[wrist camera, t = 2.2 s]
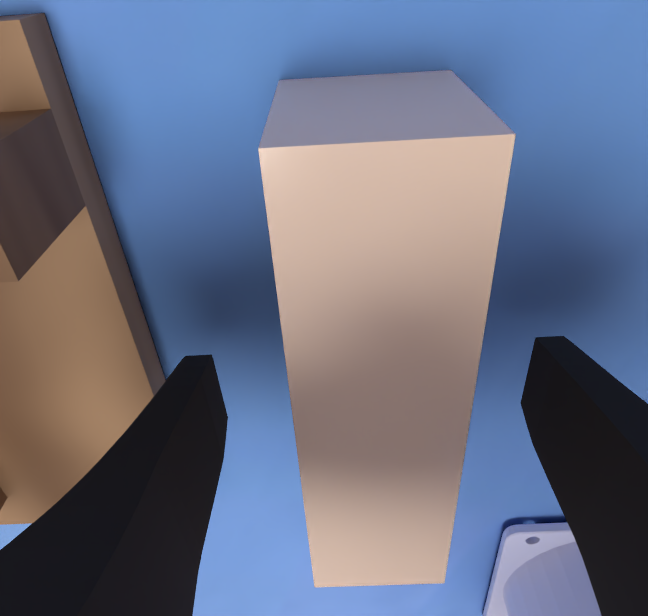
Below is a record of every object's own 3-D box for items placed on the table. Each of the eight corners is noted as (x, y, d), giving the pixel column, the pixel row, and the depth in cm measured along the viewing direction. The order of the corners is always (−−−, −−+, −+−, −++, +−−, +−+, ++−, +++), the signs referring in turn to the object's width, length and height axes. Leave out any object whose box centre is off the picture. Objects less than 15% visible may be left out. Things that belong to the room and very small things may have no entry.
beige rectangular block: (448, 67, 11) (515, 134, 7) (418, 449, 18) (444, 582, 14) (279, 77, 11) (258, 148, 7) (316, 453, 18) (314, 587, 14)
